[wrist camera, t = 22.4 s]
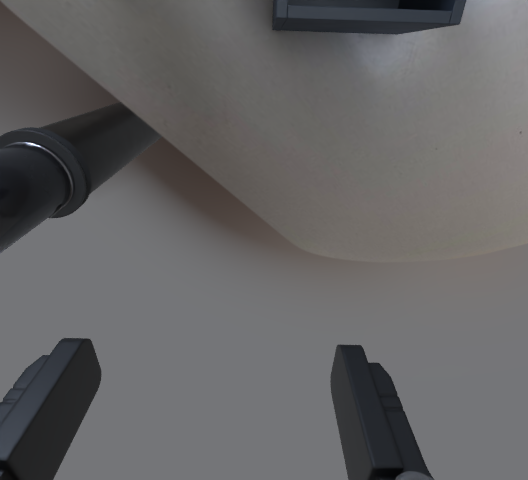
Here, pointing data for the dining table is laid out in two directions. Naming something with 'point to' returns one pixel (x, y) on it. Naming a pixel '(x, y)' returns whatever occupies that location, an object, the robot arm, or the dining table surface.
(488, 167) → the dining table surface
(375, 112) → the dining table surface
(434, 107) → the dining table surface
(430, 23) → the waste bin
